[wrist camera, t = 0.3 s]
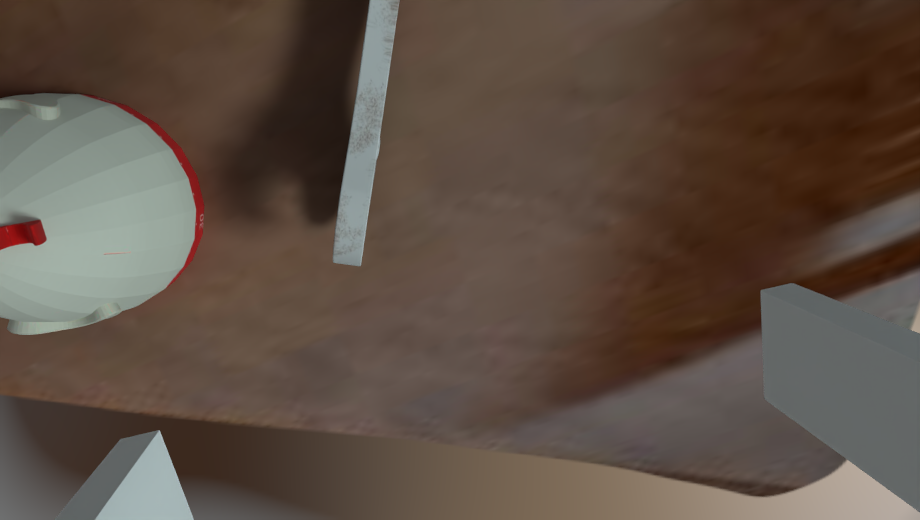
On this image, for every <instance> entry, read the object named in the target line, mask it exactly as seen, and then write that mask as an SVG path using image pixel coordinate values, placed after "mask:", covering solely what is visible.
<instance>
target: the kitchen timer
mask: <svg viewBox="0 0 920 520" xmlns="http://www.w3.org/2000/svg"><path fill="white" fill-rule="evenodd" d="M203 218H204V203H203V198H202V194H201V190H200V186H199V182H198V178H197V175H196V173H195V172H194V170H193V168H192V166H191V165H190V163H189V161H188V159H187V158H186V156H185V154H184V152H183V151H182V149H181V147H180V146H179V145H178V144H177V143H176V142H175V141H174V140H173V139H172V138H171V137H170V136H169V135H168V134H167V133H166V132H165V131H164V130H163V129H162V128H161V127H160V126H159V125H158V124H157V123H155V122H153V121H152V120H150V119H148V118H147V117H145V116H143V115H142V114H140V113H138V112H137V111H135V110H133V109H132V108H130V107H128V106H126V105H123V104H120V103H116V102H113V101H110V100H106V99H103V98H100V97H96V96H93V95H83V94H55V93H39V94H33V95H16V96H10V97H5V98H0V317H2V318H7V319H10V321H9V324H8V327H7V329H8V330H9V331H10V332H12V333H14V334H21V335H32V334H42V333H48V332H54V331H60V330H65V329H71V328H76V327H81V326H86V325H89V324H93V323H95V322H98V321H101V320H104V319H107V318H110V317H113V316H115V315H118V314H119V313H121V311H124V310H127V309H130V308H133V307H136V306H138V305H140V304H142V303H143V302H145V301H146V300H148V299H149V298H151V297H153V296H154V295H156V294H157V293H159V292H160V291H162V290H164V289H165V288H166V287H168V286H169V285H170V284H172V283H173V282H174V281H175V280H176V279H177V278H178V277H179V275H180V274H181V273H182V272H183V271H184V269H185V268H186V267H187V266H188V265H189V263H190V262H191V261H192V260H193V257H194V254H195V252H196V249H197V247H198V244H199V242H200V239H201V237H202V234H203Z"/></svg>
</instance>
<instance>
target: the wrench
mask: <svg viewBox="0 0 920 520" xmlns="http://www.w3.org/2000/svg"><path fill="white" fill-rule="evenodd" d="M398 7H399V0H370V1H369V8H368V15H367V23H366V30H365V37H364V44H363V52H362V59H361V66H360V73H359V80H358V87H357V94H356V100H355V106H354V113H353V119H352V125H351V132H350V138H349V144H348V150H347V156H346V162H345V168H344V174H343V180H342V185H341V191H340V198H339V205H338V212H337V220H336V228H335V237H334V247H333V262H334V263H340V264H347V265H355V266H361V261H362V254H363V247H364V240H365V233H366V226H367V219H368V212H369V206H370V199H371V193H372V186H373V180H374V174H375V167H376V160H377V157H378V154H379V148H380V132H381V125H382V118H383V111H384V104H385V97H386V90H387V83H388V76H389V69H390V62H391V55H392V48H393V41H394V34H395V27H396V21H397V14H398Z"/></svg>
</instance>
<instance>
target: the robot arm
mask: <svg viewBox="0 0 920 520" xmlns="http://www.w3.org/2000/svg"><path fill="white" fill-rule="evenodd" d="M761 316H762V346H763V375H764V399H765V400H766V401H768V402H769V403H771V404H772V405H773V406H775V407H776V408H777V409H779V410H780V411H782V412H783V413H784V414H786V415H787V416H788V417H790V418H791V419H793V420H794V421H795V422H797V423H798V424H799V425H801V426H802V427H804V428H805V429H806V430H808V431H809V432H810V433H812V434H813V435H814V436H816V437H817V438H819V439H820V440H821V441H823V442H824V443H825V444H827V445H828V446H830V447H831V448H832V449H834V450H835V451H836V452H838V453H839V454H841V455H842V456H843V457H845V458H846V459H847V460H849V461H850V462H852V463H853V464H854V465H856V466H857V467H858V468H860V469H861V470H862V471H864V472H865V473H867V474H868V475H869V476H871V477H872V478H873V479H875V480H876V481H878V482H879V483H880V484H882V485H883V486H885V487H886V488H887V489H888V490H890V491H891V492H893V493H894V494H895V495H897V496H898V497H899V498H901V499H902V500H904V501H905V502H906V503H908V504H909V505H911V506H912V507H913V508H915V509H916V510H917V511H919V512H920V334H919V333H917V332H914V331H912V330H909V329H907V328H904V327H902V326H899V325H897V324H894V323H892V322H889V321H887V320H884V319H882V318H879V317H877V316H874V315H871V314H869V313H866V312H864V311H861V310H859V309H856V308H854V307H851V306H849V305H846V304H844V303H841V302H839V301H836V300H834V299H831V298H829V297H826V296H824V295H821V294H819V293H816V292H814V291H811V290H808V289H806V288H803V287H801V286H798V285H796V284H793V283H790V284H786V285H782V286H778V287H773V288H769V289H765V290H761ZM54 520H194V519H193V516H192V514H191V511H190V508H189V506H188V503H187V501H186V498H185V495H184V493H183V491H182V488H181V485H180V483H179V480H178V477H177V475H176V472H175V469H174V467H173V464H172V462H171V459H170V456H169V454H168V451H167V449H166V446H165V443H164V441H163V438H162V436H161V433H160V431H159V430H158V431H154V432H149V433H145V434H141V435H137V436H133V437H128V438H124V439H120V440H119V442H118V443H117V444H116V445H115V447H114V448H113V449H112V450H111V451H110V453H109V454H108V455H107V456H106V458H105V459H104V460H103V461H102V462H101V464H100V465H99V466H98V467H97V469H96V470H95V471H94V472H93V473H92V474H91V476H90V477H89V478H88V479H87V481H86V482H85V483H84V484H83V486H82V487H81V488H80V489H79V490H78V492H77V493H76V494H75V495H74V497H73V498H72V499H71V500H70V501H69V503H68V504H67V505H66V506H65V507H64V509H63V510H62V511H61V512H60V514H59V515H58V516H57V517H56V518H55V519H54Z"/></svg>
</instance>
